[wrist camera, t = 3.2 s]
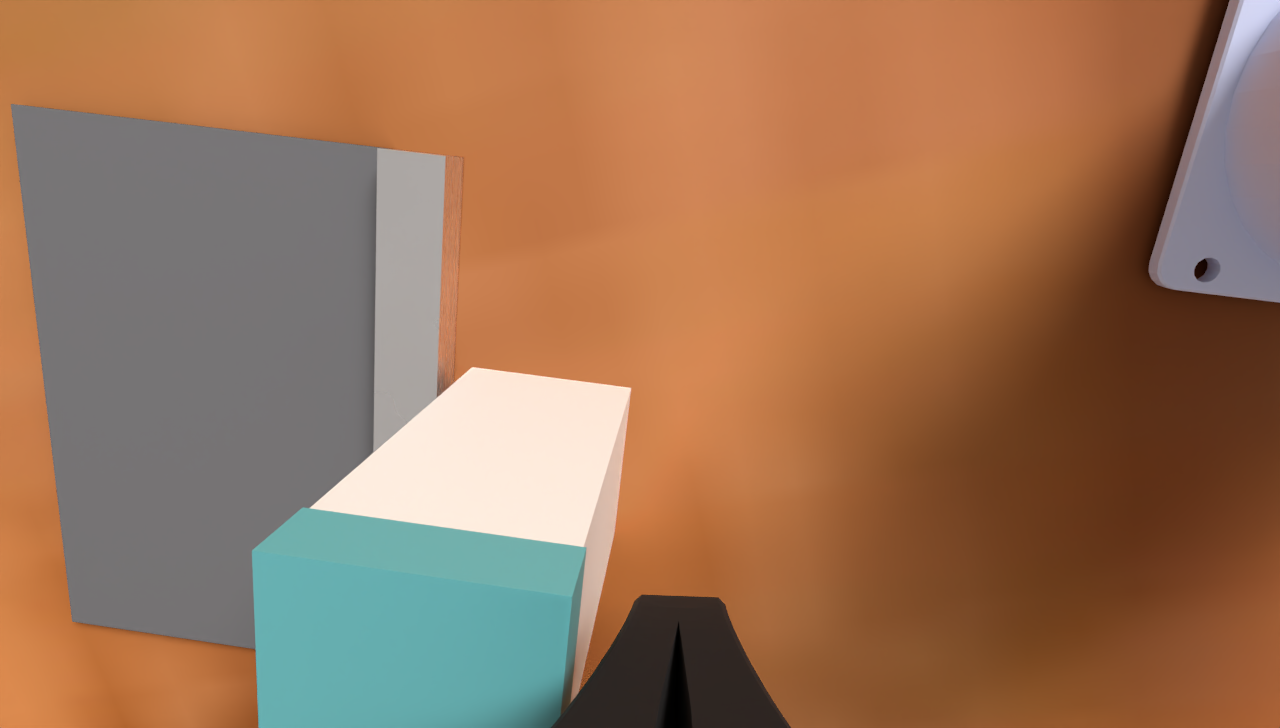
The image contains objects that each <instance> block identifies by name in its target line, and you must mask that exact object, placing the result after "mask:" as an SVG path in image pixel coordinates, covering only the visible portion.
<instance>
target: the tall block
mask: <svg viewBox="0 0 1280 728" xmlns="http://www.w3.org/2000/svg"><path fill="white" fill-rule="evenodd" d="M630 394H631V388H627V387H620V386H612V385H605V384H597V383H589V382H582V381H574V380H566V379H559V378H551V377H543V376H536V375H528V374H521V373H513V372H505V371H498V370H490V369H482V368H475V367H472V368H471V369H470V370H468V371H467V372H466V373H465V374H464V375H463V376H462V377H460V378H459V379H458V380H457V381H456V382H455V383H453V384H452V385H451V386H450V387H449V388H448V389H447V390H445V391H444V392H443V393H442V394H441V395H440V396H438V397H437V398H436V399H435V400H434V401H433V402H432V403H430V404H429V405H428V406H427V407H426V408H425V409H423V410H422V411H421V412H420V413H419V414H418V415H416V416H415V417H414V418H413V419H412V420H411V421H410V422H408V423H407V424H406V425H405V426H404V427H403V428H401V429H400V430H399V431H398V432H397V433H396V434H395V435H393V436H392V437H391V438H390V439H389V440H388V441H386V442H385V443H384V444H383V445H382V446H381V447H380V448H378V449H377V450H376V451H375V452H374V453H373V454H371V455H370V456H369V457H368V458H367V459H366V460H365V461H363V462H362V463H361V464H360V465H359V466H358V467H356V468H355V469H354V470H353V471H352V472H351V473H350V474H348V475H347V476H346V477H345V478H344V479H343V480H341V481H340V482H339V483H338V484H337V485H336V486H335V487H333V488H332V489H331V490H330V491H329V492H328V493H326V494H325V495H324V496H323V497H322V498H321V499H319V500H318V501H317V502H316V503H315V504H314V505H313V506H311V507H310V508H304V507H303V508H301V509H300V510H299V511H298V512H297V513H296V514H294V515H293V516H292V517H291V518H290V519H288V520H287V521H286V522H285V523H284V524H283V525H281V526H280V527H279V528H278V529H277V530H276V531H274V532H273V533H272V534H271V535H270V536H268V537H267V538H266V539H265V540H264V541H263V542H261V543H260V544H259V545H258V546H257V547H255V548H254V549H253V550H252V567H253V593H254V619H255V645H256V671H257V697H258V723H259V728H551V727H552V726H553V724H554V723H555V722H556V721H557V720H558V718H559V717H560V716H561V715H562V714H563V712H564V711H565V710H566V708H567V707H568V706H569V705H570V703H571V702H572V701H573V699H574V698H575V697H576V695H577V694H578V693H579V689H580V684H581V680H582V675H583V671H584V667H585V662H586V658H587V653H588V649H589V644H590V640H591V635H592V631H593V626H594V622H595V618H596V613H597V609H598V604H599V600H600V595H601V591H602V586H603V582H604V577H605V573H606V569H607V564H608V560H609V555H610V551H611V546H612V542H613V537H614V533H615V524H616V516H617V507H618V498H619V490H620V481H621V472H622V463H623V455H624V446H625V437H626V429H627V420H628V411H629V403H630Z"/></svg>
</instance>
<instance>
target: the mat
mask: <svg viewBox="0 0 1280 728" xmlns="http://www.w3.org/2000/svg"><path fill="white" fill-rule="evenodd" d="M11 109H12V117H13V126H14V134H15V143H16V151H17V160H18V168H19V176H20V185H21V193H22V202H23V210H24V219H25V227H26V235H27V244H28V252H29V261H30V269H31V278H32V286H33V294H34V303H35V311H36V320H37V328H38V337H39V345H40V353H41V362H42V370H43V379H44V387H45V396H46V404H47V412H48V421H49V429H50V438H51V446H52V455H53V463H54V471H55V480H56V488H57V497H58V505H59V514H60V522H61V530H62V539H63V547H64V556H65V564H66V573H67V581H68V590H69V598H70V606H71V615H72V621H73V622H79V623H86V624H93V625H99V626H106V627H112V628H119V629H126V630H132V631H139V632H145V633H152V634H159V635H165V636H172V637H179V638H185V639H192V640H198V641H205V642H212V643H218V644H225V645H231V646H238V647H245V648H251V649H256V645H255V619H254V593H253V567H252V550H253V549H254V548H255V547H257V546H258V545H259V544H260V543H261V542H263V541H264V540H265V539H266V538H267V537H268V536H270V535H271V534H272V533H273V532H274V531H276V530H277V529H278V528H279V527H280V526H281V525H283V524H284V523H285V522H286V521H287V520H288V519H290V518H291V517H292V516H293V515H294V514H296V513H297V512H298V511H299V510H300V509H301V508H303V507H304V508H310V507H311V506H313V505H314V504H315V503H316V502H317V501H318V500H319V499H321V498H322V497H323V496H324V495H325V494H326V493H328V492H329V491H330V490H331V489H332V488H333V487H335V486H336V485H337V484H338V483H339V482H340V481H341V480H343V479H344V478H345V477H346V476H347V475H348V474H350V473H351V472H352V471H353V470H354V469H355V468H356V467H358V466H359V465H360V464H361V463H362V462H363V461H365V460H366V459H367V458H368V457H369V456H370V455H371V454H373V444H374V365H375V287H376V208H377V148H379V147H371V146H363V145H354V144H346V143H337V142H329V141H320V140H312V139H303V138H295V137H286V136H278V135H269V134H261V133H253V132H244V131H236V130H227V129H219V128H210V127H202V126H193V125H185V124H176V123H168V122H159V121H151V120H143V119H134V118H126V117H117V116H109V115H100V114H92V113H83V112H75V111H66V110H58V109H50V108H41V107H33V106H24V105H15V104H11ZM383 149H388V148H383Z"/></svg>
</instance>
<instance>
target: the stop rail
mask: <svg viewBox="0 0 1280 728" xmlns="http://www.w3.org/2000/svg"><path fill="white" fill-rule="evenodd" d="M462 178H463V157H456V156H447V155H439V154H430V153H422V152H413V151H405V150H395V149H383V148H377V208H376V287H375V365H374V444H373V453H374V452H375V451H376V450H377V449H378V448H380V447H381V446H382V445H383V444H384V443H385V442H386V441H388V440H389V439H390V438H391V437H392V436H393V435H395V434H396V433H397V432H398V431H399V430H400V429H401V428H403V427H404V426H405V425H406V424H407V423H408V422H410V421H411V420H412V419H413V418H414V417H415V416H416V415H418V414H419V413H420V412H421V411H422V410H423V409H425V408H426V407H427V406H428V405H429V404H430V403H432V402H433V401H434V400H435V399H436V398H437V397H438V396H440V395H441V394H442V393H443V392H444V391H445V390H447V389H448V388H449V387H450V386H451V385H452V384H453V381H454V359H455V336H456V313H457V291H458V268H459V246H460V223H461V200H462Z"/></svg>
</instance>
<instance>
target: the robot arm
mask: <svg viewBox="0 0 1280 728" xmlns="http://www.w3.org/2000/svg"><path fill="white" fill-rule="evenodd" d="M1204 258H1205V260H1206V261H1207V270H1206V272H1205V274H1204V275H1203V276H1201V277H1200V278H1198V279H1196V277H1195V276H1194V268H1195V267H1196V265H1197V263H1198V262H1200V261H1201V260H1203V259H1204ZM1149 274H1150V277H1151V279H1152V280H1153V281H1154V282H1155V283H1156V284H1157V285H1159V286H1162V287H1165V288H1169V289H1173V290H1180V291H1188V292H1196V293H1204V294H1213V295H1221V296H1229V297H1238V298H1246V299H1254V300H1262V301H1271V302H1279V303H1280V0H1230V1H1229V4H1228V7H1227V11H1226V14H1225V17H1224V20H1223V24H1222V27H1221V30H1220V33H1219V37H1218V40H1217V43H1216V46H1215V50H1214V53H1213V56H1212V60H1211V63H1210V66H1209V69H1208V73H1207V76H1206V79H1205V82H1204V86H1203V89H1202V92H1201V95H1200V99H1199V102H1198V105H1197V108H1196V112H1195V115H1194V118H1193V122H1192V125H1191V128H1190V131H1189V135H1188V138H1187V141H1186V144H1185V148H1184V151H1183V154H1182V157H1181V161H1180V164H1179V167H1178V171H1177V174H1176V177H1175V180H1174V184H1173V187H1172V190H1171V193H1170V197H1169V200H1168V203H1167V206H1166V210H1165V213H1164V216H1163V219H1162V223H1161V226H1160V229H1159V233H1158V236H1157V239H1156V242H1155V246H1154V249H1153V252H1152V255H1151V259H1150V262H1149ZM551 728H791V727H790V726H789V724H788V723H787V721H786V720H785V718H784V717H783V715H782V714H781V712H780V711H779V709H778V708H777V706H776V705H775V703H774V702H773V700H772V699H771V697H770V695H769V694H768V692H767V691H766V689H765V687H764V685H763V684H762V682H761V680H760V678H759V677H758V675H757V673H756V672H755V670H754V668H753V666H752V665H751V663H750V661H749V659H748V657H747V655H746V653H745V651H744V649H743V647H742V645H741V643H740V641H739V639H738V637H737V635H736V633H735V631H734V628H733V626H732V624H731V621H730V618H729V616H728V613H727V610H726V606H725V604H724V603H723V602H722V601H721V600H720V599H719V598H714V597H687V596H660V595H641V596H640V597H639V598H638V599H636V600H635V601H634V604H633V606H632V609H631V611H630V613H629V615H628V617H627V619H626V621H625V623H624V625H623V627H622V628H621V630H620V632H619V634H618V635H617V637H616V639H615V640H614V642H613V644H612V645H611V647H610V648H609V650H608V651H607V653H606V654H605V656H604V657H603V659H602V661H601V662H600V664H599V665H598V667H597V668H596V670H595V671H594V673H593V674H592V676H591V677H590V678H589V680H588V681H587V683H586V684H585V685H584V686H583V688H582V689H581V690H580V692H579V693H578V694H577V695H576V697H575V698H574V699H573V701H572V702H571V703H570V705H569V706H568V707H567V708H566V710H565V711H564V712H563V714H562V715H561V716H560V717H559V718H558V720H557V721H556V722H555V723H554V724H553V726H552V727H551Z"/></svg>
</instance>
